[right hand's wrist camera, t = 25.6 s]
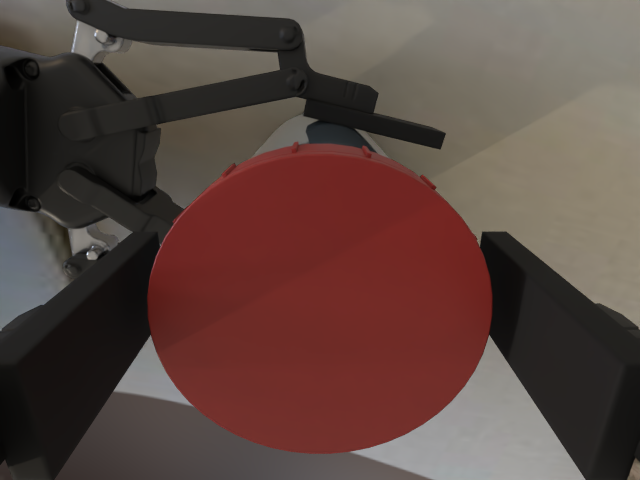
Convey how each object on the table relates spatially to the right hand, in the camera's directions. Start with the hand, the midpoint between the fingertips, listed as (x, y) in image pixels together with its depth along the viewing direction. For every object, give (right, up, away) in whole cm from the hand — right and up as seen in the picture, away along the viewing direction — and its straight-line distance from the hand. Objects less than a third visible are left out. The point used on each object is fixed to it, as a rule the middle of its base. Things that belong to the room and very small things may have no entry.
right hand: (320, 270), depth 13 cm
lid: (0, -1, -3) cm, 3 cm away
